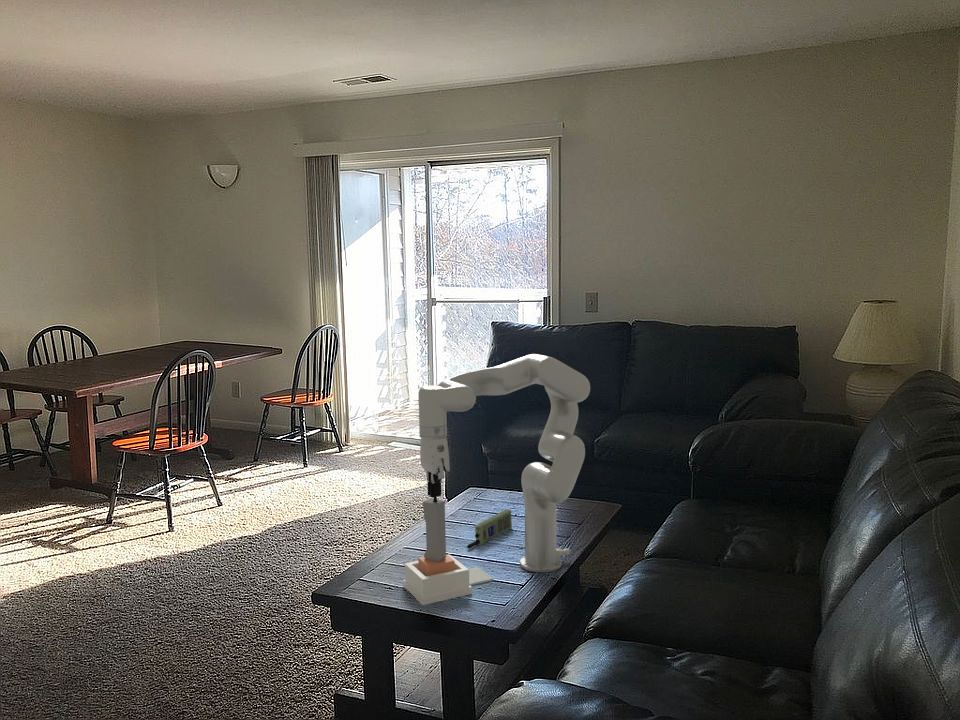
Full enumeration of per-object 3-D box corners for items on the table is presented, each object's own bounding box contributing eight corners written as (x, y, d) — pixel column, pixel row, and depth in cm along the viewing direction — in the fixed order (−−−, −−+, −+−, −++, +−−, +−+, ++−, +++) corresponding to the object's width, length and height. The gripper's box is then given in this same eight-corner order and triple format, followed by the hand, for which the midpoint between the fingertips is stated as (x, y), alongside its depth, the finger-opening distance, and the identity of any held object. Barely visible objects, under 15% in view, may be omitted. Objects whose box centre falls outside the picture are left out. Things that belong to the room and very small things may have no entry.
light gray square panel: (477, 568, 242) (477, 566, 242) (493, 580, 233) (493, 578, 233) (447, 575, 237) (447, 573, 237) (462, 587, 228) (462, 585, 228)
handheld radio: (513, 528, 276) (473, 551, 256) (505, 527, 278) (464, 550, 258) (512, 509, 276) (472, 531, 255) (504, 508, 278) (463, 530, 257)
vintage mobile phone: (432, 554, 229) (429, 469, 225) (446, 558, 226) (444, 472, 223) (424, 558, 226) (421, 472, 222) (438, 562, 223) (435, 475, 220)
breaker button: (444, 562, 231) (443, 552, 230) (454, 570, 225) (454, 560, 224) (418, 567, 227) (418, 557, 227) (428, 576, 221) (428, 566, 221)
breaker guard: (450, 576, 236) (449, 553, 235) (471, 593, 224) (471, 569, 223) (403, 586, 230) (402, 563, 229) (422, 605, 217) (421, 580, 216)
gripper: (457, 434, 215) (458, 500, 218) (434, 424, 229) (435, 486, 231) (431, 438, 212) (433, 505, 215) (409, 427, 226) (411, 490, 228)
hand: (434, 495), depth 223 cm, fingers closed on vintage mobile phone, 1 cm apart
